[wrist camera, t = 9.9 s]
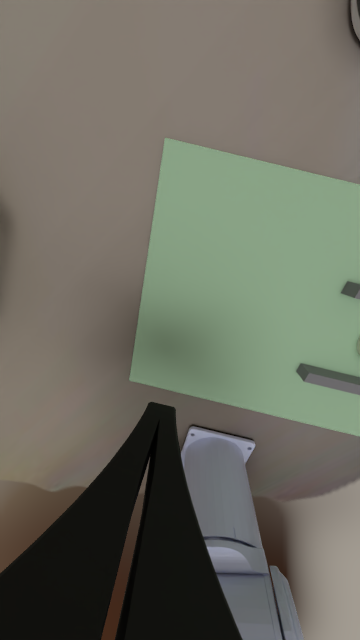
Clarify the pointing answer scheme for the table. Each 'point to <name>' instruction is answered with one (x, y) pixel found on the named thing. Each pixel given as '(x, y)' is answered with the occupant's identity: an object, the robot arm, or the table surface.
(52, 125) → the table surface
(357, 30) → the supplement bottle
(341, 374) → the grey frame
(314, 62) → the table surface
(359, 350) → the stone
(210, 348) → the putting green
